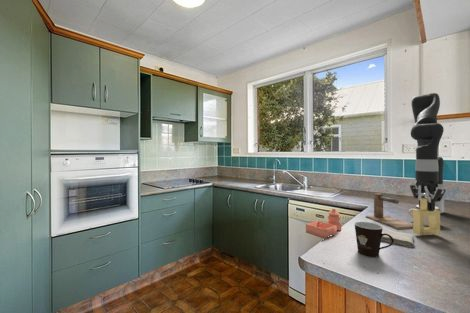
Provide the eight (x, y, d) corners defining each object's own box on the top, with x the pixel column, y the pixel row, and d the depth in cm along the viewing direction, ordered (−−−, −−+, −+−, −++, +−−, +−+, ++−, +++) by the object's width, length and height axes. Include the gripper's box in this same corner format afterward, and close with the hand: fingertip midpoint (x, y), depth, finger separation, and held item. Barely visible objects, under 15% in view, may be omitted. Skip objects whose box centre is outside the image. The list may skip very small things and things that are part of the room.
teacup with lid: (438, 224, 111) (438, 201, 111) (441, 229, 104) (441, 204, 104) (408, 220, 119) (408, 198, 119) (408, 224, 111) (408, 201, 111)
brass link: (432, 231, 97) (432, 197, 97) (440, 233, 94) (440, 198, 94) (413, 232, 95) (413, 198, 95) (420, 235, 92) (420, 199, 92)
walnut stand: (365, 218, 122) (365, 193, 122) (383, 217, 124) (382, 192, 124) (397, 230, 103) (397, 200, 103) (417, 229, 104) (417, 199, 104)
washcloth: (365, 230, 103) (365, 224, 103) (414, 240, 92) (414, 232, 92) (360, 238, 94) (360, 231, 94) (414, 249, 83) (414, 241, 83)
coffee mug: (349, 248, 82) (349, 222, 82) (371, 247, 83) (371, 221, 83) (371, 263, 71) (371, 232, 71) (396, 262, 72) (396, 232, 72)
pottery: (324, 239, 92) (324, 216, 92) (305, 233, 100) (305, 211, 100) (347, 231, 102) (347, 210, 102) (328, 226, 110) (328, 206, 110)
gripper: (452, 171, 88) (452, 213, 88) (418, 168, 102) (418, 206, 102) (436, 171, 87) (436, 214, 87) (404, 169, 101) (404, 206, 101)
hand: (426, 209), depth 94 cm, fingers closed on brass link, 3 cm apart
